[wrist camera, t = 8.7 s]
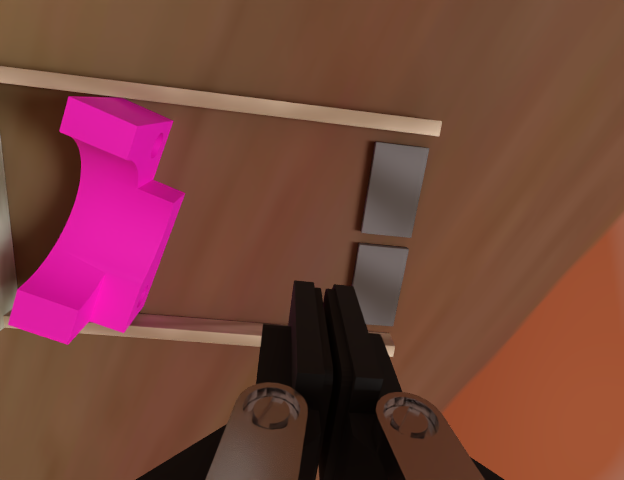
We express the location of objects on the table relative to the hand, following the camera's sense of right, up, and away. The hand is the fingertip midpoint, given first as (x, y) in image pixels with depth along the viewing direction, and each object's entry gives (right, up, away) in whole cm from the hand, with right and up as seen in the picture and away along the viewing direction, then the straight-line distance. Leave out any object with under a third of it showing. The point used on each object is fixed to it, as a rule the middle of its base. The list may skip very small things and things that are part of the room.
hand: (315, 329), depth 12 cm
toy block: (-14, +5, +20) cm, 25 cm away
